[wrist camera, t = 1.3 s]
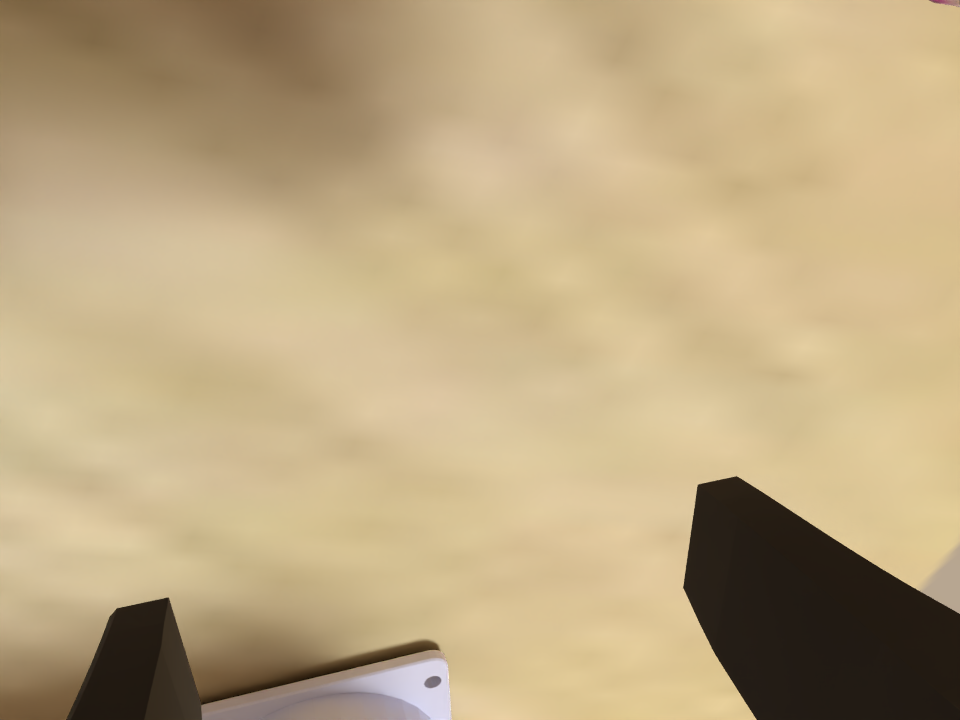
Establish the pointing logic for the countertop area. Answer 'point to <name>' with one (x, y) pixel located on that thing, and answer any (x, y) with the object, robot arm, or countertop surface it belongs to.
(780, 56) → the countertop surface
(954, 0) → the candy bar box
